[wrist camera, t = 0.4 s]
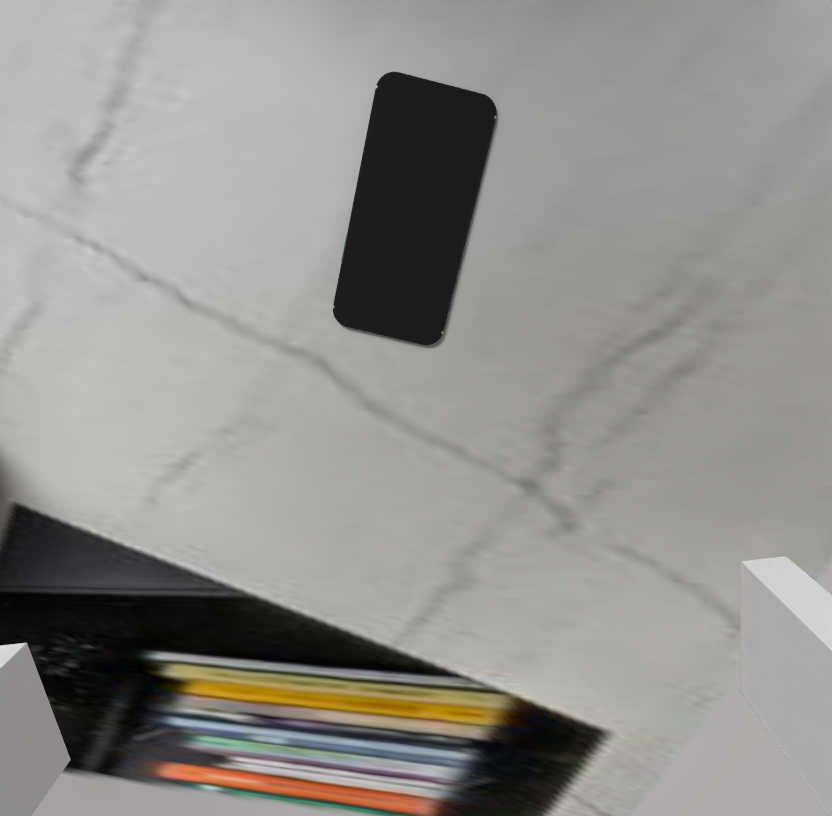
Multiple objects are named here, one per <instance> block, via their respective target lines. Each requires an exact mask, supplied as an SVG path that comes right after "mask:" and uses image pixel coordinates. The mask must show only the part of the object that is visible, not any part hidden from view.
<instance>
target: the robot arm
mask: <svg viewBox="0 0 832 816" xmlns="http://www.w3.org/2000/svg"><path fill="white" fill-rule="evenodd" d="M740 692H741V694H742V695H743V696H744V698H745V699H746V701H747V702H748V703H749V705H750V706H751V708H752V709H753V710H754V712H755V713H756V714H757V716H758V718H759V719H760V720H761V722H762V723H763V725H764V726H765V727H766V729H767V730H768V731H769V733H770V734H771V736H772V737H773V739H774V740H775V741H776V743H777V744H778V746H779V747H780V748H781V750H782V751H783V753H784V754H785V755H786V757H787V758H788V760H789V761H790V762H791V764H792V765H793V767H794V768H795V769H796V771H797V772H798V774H799V775H800V777H801V778H802V779H803V781H804V782H805V784H806V785H807V786H808V788H809V789H810V791H811V792H812V793H813V795H814V796H815V797H816V799H817V800H818V802H819V803H820V804H821V806H822V807H823V808H824V810H825V812H826V813H827V814H828V816H832V595H831V594H830V593H828V592H827V591H826V590H825V589H824V588H823V587H821V586H820V585H819V584H818V583H817V582H816V581H814V580H813V579H812V578H811V577H810V576H808V575H807V574H806V573H805V572H804V571H803V570H801V569H800V568H799V567H798V566H797V565H796V564H794V563H793V562H792V561H791V560H790V559H788V558H787V557H786V556H783V557H775V558H766V559H757V560H748V561H741V617H740ZM69 761H70V757H69V755H68V752H67V749H66V747H65V744H64V741H63V739H62V736H61V733H60V731H59V728H58V725H57V723H56V720H55V717H54V715H53V712H52V709H51V707H50V704H49V701H48V698H47V696H46V693H45V690H44V688H43V685H42V682H41V680H40V677H39V674H38V672H37V669H36V666H35V664H34V661H33V658H32V656H31V653H30V650H29V648H28V645H27V643H21V644H12V645H3V646H0V816H31V815H32V814H33V812H34V811H35V810H36V808H37V807H38V805H39V804H40V802H41V801H42V800H43V798H44V797H45V795H46V794H47V792H48V791H49V790H50V788H51V787H52V785H53V784H54V782H55V781H56V779H57V778H58V777H59V775H60V774H61V772H62V771H63V770H64V768H65V767H66V765H67V764H68V762H69Z"/></svg>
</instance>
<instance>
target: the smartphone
mask: <svg viewBox="0 0 832 816" xmlns="http://www.w3.org/2000/svg"><path fill="white" fill-rule="evenodd" d="M495 120H496V107H495V105H494V103H493V101H492V100H491V99H490V98H489V97H488V96H486V95H484V94H481V93H477V92H473V91H469V90H465V89H461V88H457V87H454V86H450V85H446V84H442V83H438V82H434V81H430V80H426V79H422V78H419V77H415V76H411V75H407V74H403V73H399V72H390V73H387V74H385V75H384V76H382V77H381V78H380V80H379V81H378V83H377V86H376V89H375V95H374V100H373V105H372V110H371V115H370V120H369V125H368V130H367V136H366V141H365V146H364V151H363V156H362V161H361V166H360V171H359V177H358V182H357V187H356V192H355V197H354V202H353V207H352V212H351V218H350V223H349V228H348V233H347V236H346V241H345V246H344V251H343V256H342V264H341V269H340V274H339V279H338V284H337V289H336V294H335V300H334V305H333V313H334V316H335V318H336V320H337V321H338V322H339V323H340V324H342V325H344V326H346V327H350V328H355V329H359V330H363V331H367V332H372V333H376V334H380V335H384V336H388V337H393V338H397V339H401V340H405V341H410V342H414V343H418V344H422V345H430V344H433V343H435V342H437V341H438V340H439V339H440V338H441V336H442V334H443V331H444V327H445V323H446V319H447V315H448V311H449V309H450V303H451V298H452V294H453V293H454V289H455V285H456V281H457V274H458V270H459V268H460V264H461V260H462V256H463V255H462V254H463V250H464V246H465V242H466V238H467V234H468V230H469V226H470V222H471V217H472V213H473V209H474V205H475V201H476V197H477V193H478V189H479V185H480V181H481V177H482V173H483V169H484V165H485V161H486V157H487V153H488V149H489V145H490V141H491V136H492V132H493V128H494V124H495Z"/></svg>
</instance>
